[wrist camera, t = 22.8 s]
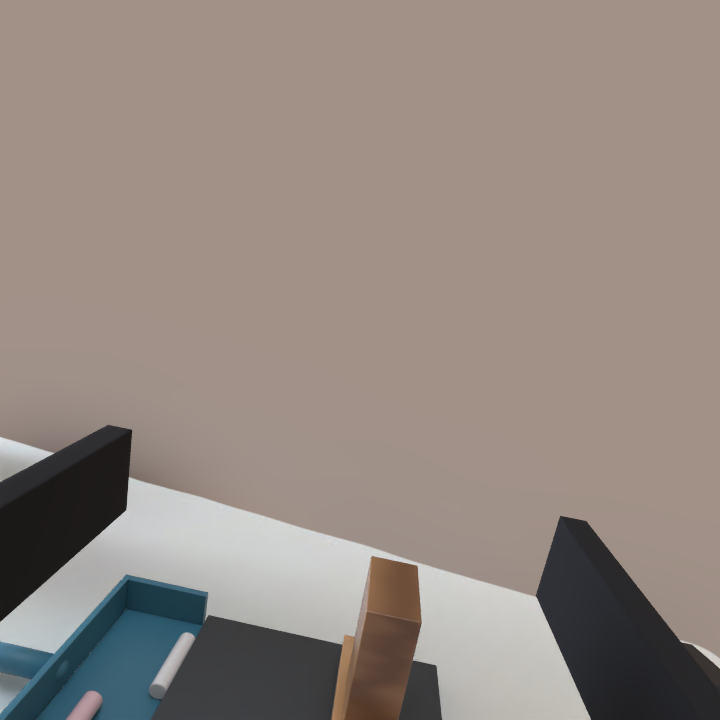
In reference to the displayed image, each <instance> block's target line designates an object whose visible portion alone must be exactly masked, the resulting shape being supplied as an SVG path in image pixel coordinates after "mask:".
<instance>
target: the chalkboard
mask: <svg viewBox="0 0 720 720" xmlns="http://www.w3.org/2000/svg"><path fill="white" fill-rule="evenodd" d="M341 650H342V645H341V644H336V643H332V642H327V641H323V640H318V639H314V638H309V637H305V636H300V635H296V634H291V633H287V632H282V631H278V630H273V629H269V628H264V627H260V626H255V625H251V624H246V623H242V622H237V621H233V620H228V619H224V618H219V617H214V616H210V615H209V616H208V617H207V619H206V621H205V623H204V624H203V626H202V628H201V630H200V632H199V633H198V635H197V637H196V639H195V641H194V643H193V644H192V646H191V648H190V650H189V652H188V653H187V655H186V657H185V659H184V661H183V662H182V664H181V666H180V668H179V670H178V671H177V673H176V675H175V677H174V679H173V680H172V682H171V684H170V686H169V688H168V689H167V691H166V693H165V695H164V697H163V699H162V700H161V702H160V704H159V706H158V708H157V709H156V711H155V713H154V715H153V717H152V718H151V720H331V714H332V708H333V701H334V694H335V687H336V681H337V674H338V667H339V660H340V655H341ZM398 720H442V717H441V707H440V697H439V687H438V677H437V667H436V665H431V664H427V663H422V662H418V661H412V665H411V669H410V674H409V678H408V682H407V686H406V690H405V694H404V699H403V703H402V707H401V711H400V715H399V719H398Z"/></svg>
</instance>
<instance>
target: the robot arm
mask: <svg viewBox="0 0 720 720" xmlns="http://www.w3.org/2000/svg"><path fill="white" fill-rule="evenodd" d="M131 438H132V430H130V429H126V428H120V427H115V426H111V425H107V426H105V427H103V428H102V429H100V430H98V431H96V432H94V433H92V434H90V435H88V436H87V437H84V438H83V439H81V440H79V441H77V442H75V443H73V444H71V445H69V446H68V447H66V448H64V449H62V450H60V451H58V452H56V453H54V454H52V455H51V456H49V457H47V458H45V459H43V460H41V461H39V462H37V463H35V464H34V465H32V466H30V467H28V468H26V469H24V470H22V471H20V472H19V473H17V474H15V475H13V476H11V477H9V478H7V479H5V480H3V481H2V482H0V621H2V620H3V619H4V618H5V617H6V616H7V615H8V614H10V613H11V612H12V611H13V610H14V609H15V608H16V607H17V606H19V605H20V604H21V603H22V602H23V601H24V600H25V599H26V598H28V597H29V596H30V595H31V594H32V593H33V592H34V591H35V590H37V589H38V588H39V587H40V586H41V585H42V584H43V583H44V582H46V581H47V580H48V579H49V578H50V577H51V576H52V575H54V574H55V573H56V572H57V571H58V570H59V569H60V568H61V567H63V566H64V565H65V564H66V563H67V562H68V561H69V560H70V559H72V558H73V557H74V556H75V555H76V554H77V553H78V552H79V551H81V550H82V549H83V548H84V547H85V546H86V545H87V544H89V543H90V542H91V541H92V540H93V539H94V538H95V537H96V536H98V535H99V534H100V533H101V532H102V531H103V530H104V529H105V528H107V527H108V526H109V525H110V524H111V523H112V522H113V521H114V520H116V519H117V518H118V517H119V516H120V515H121V514H122V513H123V512H125V511H126V507H127V493H128V480H129V466H130V452H131ZM536 597H537V599H538V601H539V603H540V606H541V608H542V610H543V612H544V615H545V617H546V619H547V621H548V624H549V626H550V628H551V630H552V633H553V635H554V637H555V639H556V642H557V644H558V646H559V648H560V651H561V653H562V655H563V657H564V660H565V662H566V664H567V666H568V669H569V671H570V673H571V675H572V678H573V680H574V682H575V684H576V687H577V689H578V691H579V693H580V696H581V698H582V700H583V702H584V705H585V707H586V709H587V711H588V714H589V716H590V718H591V720H720V669H719V668H718V667H717V666H716V665H715V664H714V663H713V662H711V661H710V660H709V659H708V658H707V657H706V656H704V655H703V654H702V653H701V652H700V651H699V650H697V649H696V648H695V647H694V646H693V645H691V644H686V643H682V642H680V640H679V639H678V638H677V637H676V635H675V634H674V633H673V631H672V630H671V629H670V628H669V626H668V625H667V624H666V623H665V621H664V620H663V619H662V617H661V616H660V615H659V614H658V612H657V611H656V610H655V608H654V607H653V606H652V605H651V603H650V602H649V601H648V599H647V598H646V597H645V596H644V594H643V593H642V592H641V591H640V589H639V588H638V587H637V585H636V584H635V583H634V582H633V581H632V579H631V578H630V576H629V575H628V574H627V573H626V571H625V570H624V569H623V568H622V566H621V565H620V564H619V562H618V561H617V560H616V559H615V557H614V556H613V555H612V553H611V552H610V551H609V550H608V548H607V547H606V546H605V545H604V543H603V542H602V541H601V539H600V538H599V537H598V536H597V534H596V533H595V532H594V530H593V529H592V528H591V527H590V525H589V524H588V523H587V522H586V521H583V520H578V519H573V518H568V517H563V516H560V519H559V522H558V525H557V528H556V532H555V535H554V538H553V542H552V545H551V548H550V551H549V555H548V558H547V561H546V564H545V568H544V571H543V574H542V577H541V581H540V584H539V587H538V591H537V594H536Z"/></svg>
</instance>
